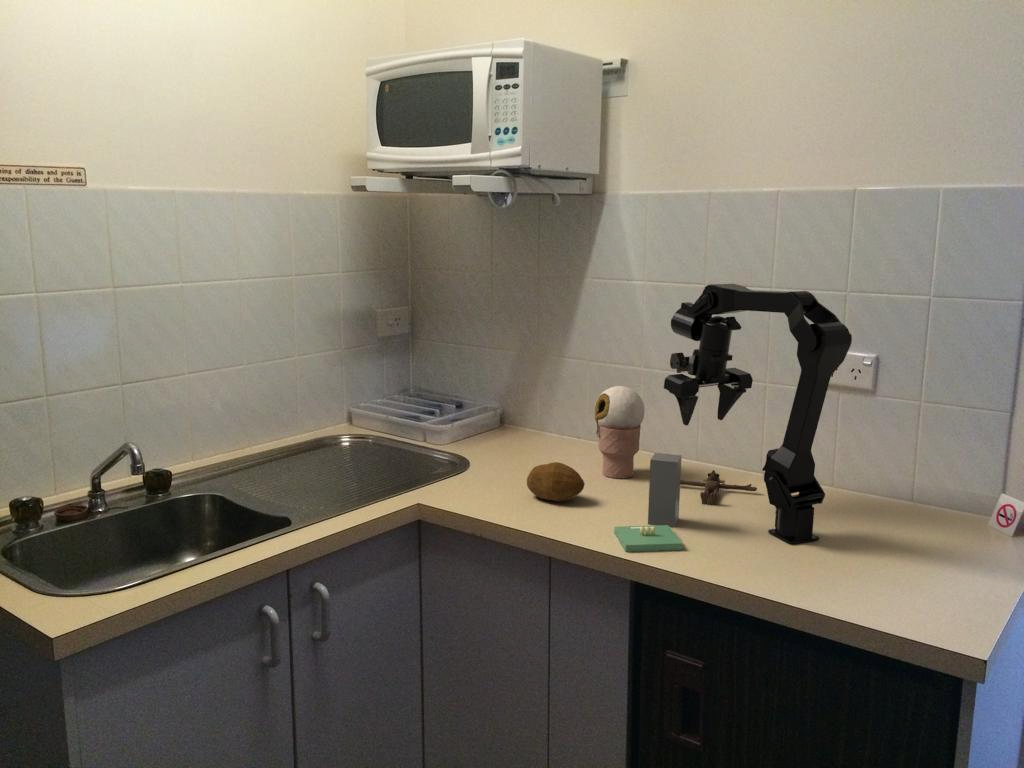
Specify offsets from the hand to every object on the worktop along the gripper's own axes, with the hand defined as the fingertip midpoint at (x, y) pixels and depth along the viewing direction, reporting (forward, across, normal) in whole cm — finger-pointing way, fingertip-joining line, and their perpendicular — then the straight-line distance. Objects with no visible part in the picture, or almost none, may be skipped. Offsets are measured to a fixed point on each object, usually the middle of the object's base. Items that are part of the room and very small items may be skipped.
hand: (702, 422), depth 174 cm
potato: (+18, +26, -12) cm, 34 cm away
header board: (+14, +24, +15) cm, 32 cm away
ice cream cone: (+19, +4, -19) cm, 28 cm away
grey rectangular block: (+15, +15, +9) cm, 23 cm away
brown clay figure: (+17, -4, +1) cm, 17 cm away
